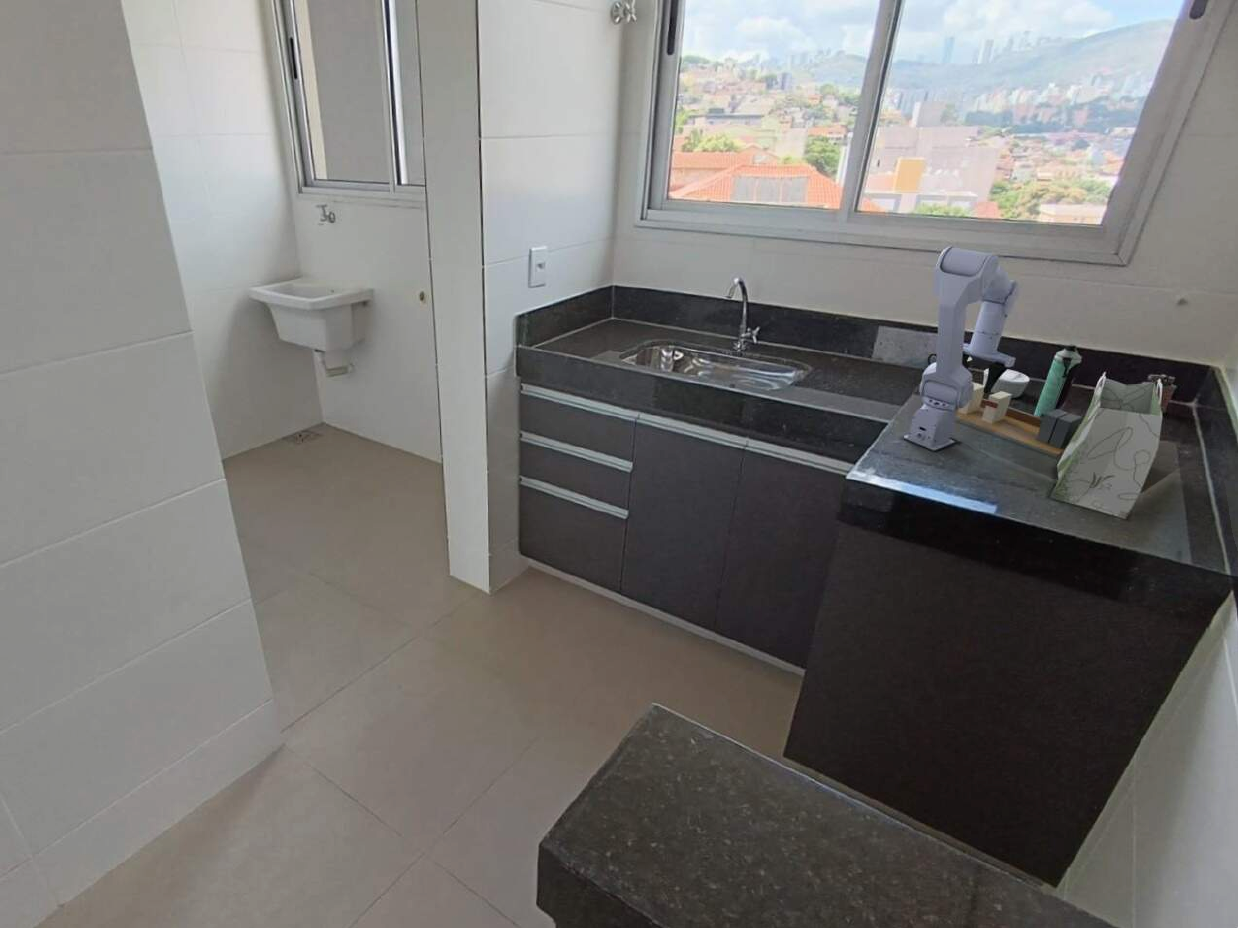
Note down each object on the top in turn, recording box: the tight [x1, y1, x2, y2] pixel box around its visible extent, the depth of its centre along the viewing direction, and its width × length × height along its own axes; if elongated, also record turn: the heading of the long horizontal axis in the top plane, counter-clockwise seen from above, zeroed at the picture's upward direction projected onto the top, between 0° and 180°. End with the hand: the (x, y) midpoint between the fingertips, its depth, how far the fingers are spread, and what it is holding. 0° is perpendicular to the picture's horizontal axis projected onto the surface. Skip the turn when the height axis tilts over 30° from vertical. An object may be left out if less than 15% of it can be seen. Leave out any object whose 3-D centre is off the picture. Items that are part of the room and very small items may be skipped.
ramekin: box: [982, 368, 1031, 399], centre depth 186 cm, size 11×11×5 cm
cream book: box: [982, 391, 1012, 424], centre depth 165 cm, size 6×3×6 cm, turn 126°
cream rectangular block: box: [958, 382, 985, 415], centre depth 169 cm, size 6×3×6 cm, turn 126°
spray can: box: [1033, 344, 1083, 418], centre depth 165 cm, size 6×6×20 cm
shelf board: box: [956, 397, 1068, 456], centre depth 164 cm, size 14×31×3 cm, turn 36°
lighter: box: [1141, 374, 1177, 415], centre depth 178 cm, size 8×3×10 cm, turn 84°
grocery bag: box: [1049, 371, 1163, 520], centre depth 137 cm, size 32×14×23 cm, turn 144°
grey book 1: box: [1036, 409, 1069, 444], centre depth 156 cm, size 6×3×6 cm, turn 126°
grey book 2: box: [1049, 412, 1083, 448], centre depth 154 cm, size 6×3×6 cm, turn 126°
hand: (971, 387), depth 162 cm, fingers open, 7 cm apart
